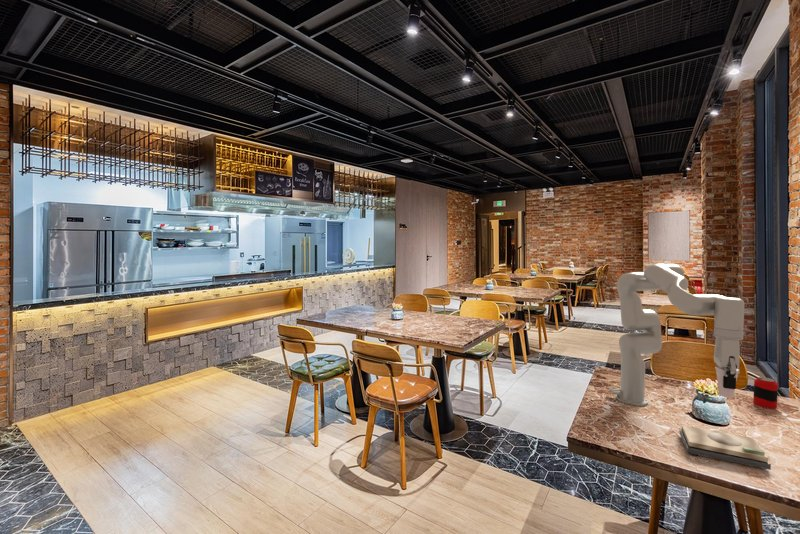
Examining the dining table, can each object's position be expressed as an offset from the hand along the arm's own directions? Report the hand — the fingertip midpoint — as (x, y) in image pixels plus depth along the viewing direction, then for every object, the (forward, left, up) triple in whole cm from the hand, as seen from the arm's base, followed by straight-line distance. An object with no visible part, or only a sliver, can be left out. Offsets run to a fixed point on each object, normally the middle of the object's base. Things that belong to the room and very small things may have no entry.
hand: (726, 384), depth 128 cm
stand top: (-1, -1, -21) cm, 21 cm away
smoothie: (0, 0, -4) cm, 4 cm away
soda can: (+27, +58, -24) cm, 68 cm away
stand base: (-1, -1, -24) cm, 24 cm away
